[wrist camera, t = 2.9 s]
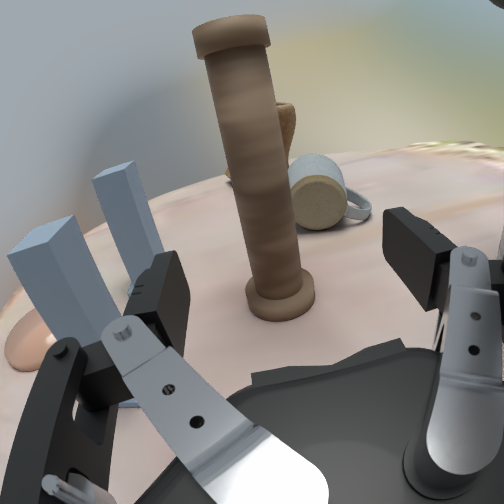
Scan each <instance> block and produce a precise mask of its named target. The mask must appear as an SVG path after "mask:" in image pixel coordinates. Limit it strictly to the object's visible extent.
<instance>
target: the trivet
mask: <svg viewBox="0 0 504 504" xmlns="http://www.w3.org/2000/svg"><path fill="white" fill-rule="evenodd" d="M55 342H57V340H56V338H55V337H54V335H53V334H52V332H51V331H50V329H49V328H48V326H47V325H46V323H45V322H44V320H43V319H42V317H41V316H40V314H39V312H38V311H37V309H36V308H34V309H33V310H31V311H30V312H28V313H27V314H26V315H25V316H24V317H23V318H21V319H20V320H19V321H18V323H17V324H16V325H15V326H14V328H13V329H12V330H11V332H10V334H9V335H8V337H7V340H6V343H5V348H4V353H5V356H6V359H7V360H8V361H9V362H10V364H11V365H12V366H13V367H14V368H15V369H17V370H19V371H26V372H27V371H34V370H37V369H39V368H40V366H41V364H42V361H43V359H44V357H45V354H46V352H47V351H48V349H49V348H50V347H51V346H52V345H53V344H54V343H55Z"/></svg>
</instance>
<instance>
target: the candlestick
mask: <svg viewBox="0 0 504 504" xmlns="http://www.w3.org/2000/svg"><path fill="white" fill-rule="evenodd" d="M192 34H193V39H194V43H195V48H196V52H197V57H198V59H201V60H203V59H204V60H205V65H206V69H207V74H208V78H209V83H210V87H211V92H212V96H213V101H214V105H215V110H216V114H217V118H218V123H219V128H220V132H221V137H222V141H223V146H224V150H225V154H226V159H227V164H228V168H229V173H230V177H231V182H232V186H233V191H234V195H235V200H236V204H237V208H238V213H239V217H240V222H241V226H242V231H243V235H244V239H245V244H246V248H247V253H248V257H249V262H250V266H251V270H252V275H253V277H252V278H251V279H250V280H249V281H248V283H247V285H246V288H245V292H246V296H247V300H248V304H249V308H250V310H251V312H252V313H253V314H254V315H255V316H257V317H259V318H261V319H263V320H267V321H286V320H291V319H294V318H296V317H299V316H301V315H302V314H304V313H305V312H306V311H308V310H309V309H310V308H311V306H312V305H313V303H314V300H315V291H314V281H313V277H312V275H311V274H310V273H309V272H308V271H306V270H305V269H303V268H301V262H300V254H299V246H298V239H297V231H296V224H295V217H294V210H293V203H292V196H291V189H290V183H289V176H288V170H287V164H286V157H285V151H284V145H283V139H282V134H281V128H280V122H279V117H278V111H277V106H276V100H275V95H274V89H273V84H272V79H271V74H270V69H269V64H268V60H267V54H266V49H265V48H266V47H269V46H270V45H271V43H270V39H269V34H268V29H267V25H266V21H265V17H264V16H260V15H236V16H229V17H224V18H220V19H216V20H212V21H210V22H207V23H204V24H202V25H199V26H198V27H196V28H195V29H193V31H192Z"/></svg>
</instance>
